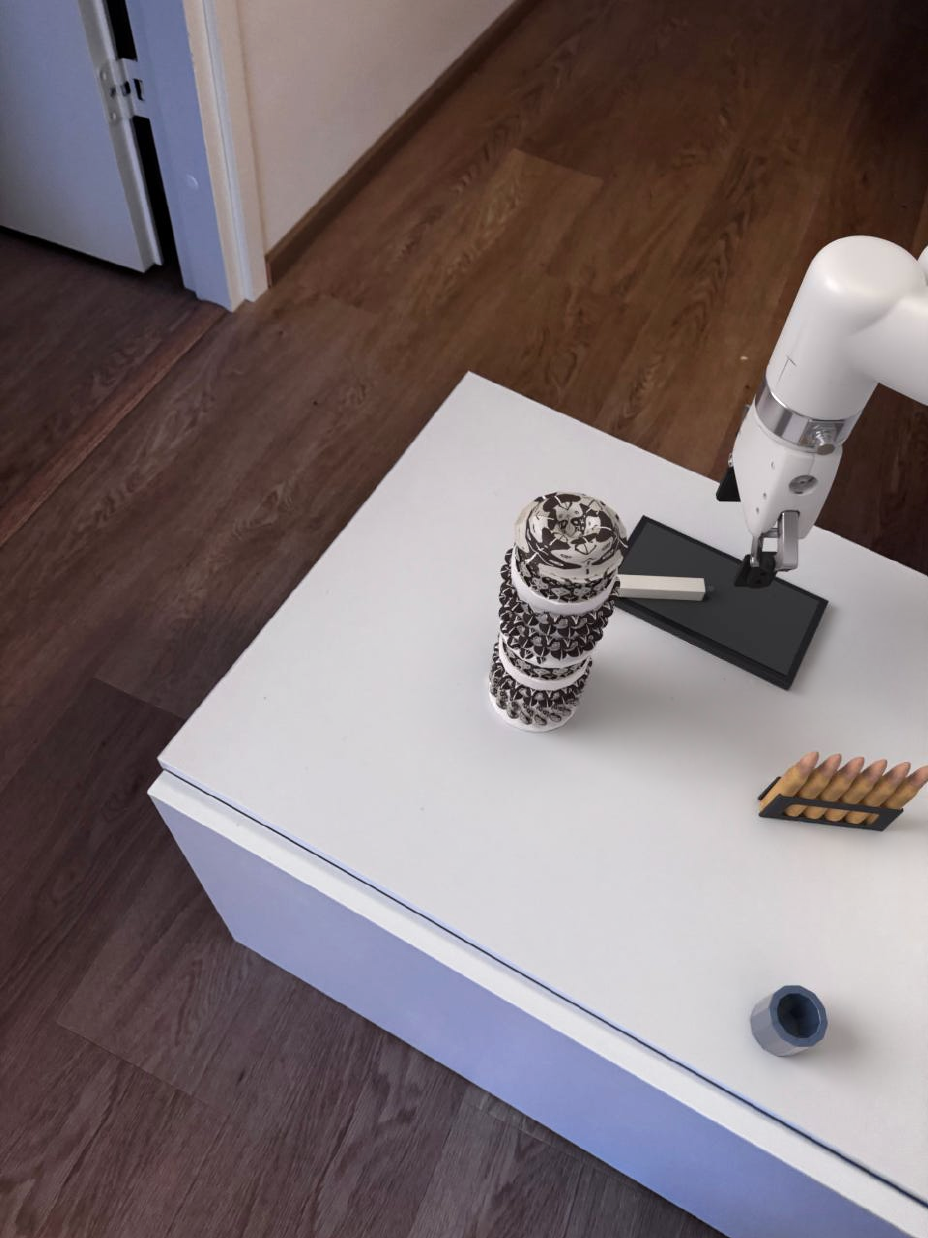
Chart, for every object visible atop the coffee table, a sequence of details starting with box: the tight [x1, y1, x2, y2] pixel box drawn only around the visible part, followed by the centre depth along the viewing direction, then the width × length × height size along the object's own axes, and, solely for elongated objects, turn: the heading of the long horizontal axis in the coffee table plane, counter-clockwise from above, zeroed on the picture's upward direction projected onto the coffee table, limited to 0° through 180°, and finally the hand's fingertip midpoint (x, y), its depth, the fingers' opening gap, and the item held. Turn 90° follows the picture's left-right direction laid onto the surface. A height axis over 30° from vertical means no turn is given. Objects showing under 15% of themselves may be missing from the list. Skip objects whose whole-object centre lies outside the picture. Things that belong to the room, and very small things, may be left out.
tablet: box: [606, 514, 830, 692], centre depth 95 cm, size 20×11×1 cm, turn 60°
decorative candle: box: [488, 491, 628, 733], centre depth 78 cm, size 9×9×25 cm
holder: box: [749, 984, 829, 1057], centre depth 72 cm, size 4×4×5 cm
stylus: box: [617, 574, 714, 601], centre depth 93 cm, size 2×2×14 cm
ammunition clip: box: [757, 751, 928, 832], centre depth 79 cm, size 11×2×12 cm, turn 84°
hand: (741, 540), depth 87 cm, fingers open, 9 cm apart
